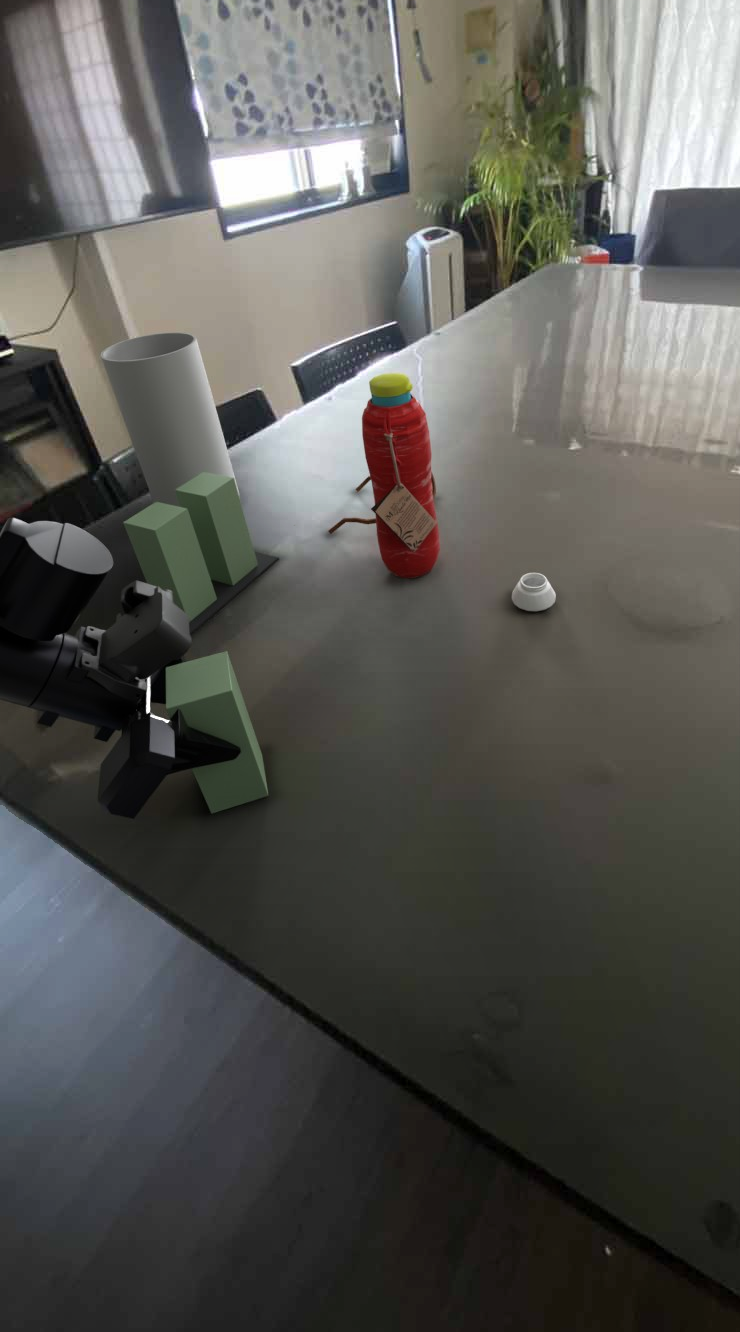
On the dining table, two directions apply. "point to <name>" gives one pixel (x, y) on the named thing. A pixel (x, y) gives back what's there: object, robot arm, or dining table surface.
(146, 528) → the middle block
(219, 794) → the block
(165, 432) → the cylinder vase
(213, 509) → the far block
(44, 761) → the dining table surface
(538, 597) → the white jar
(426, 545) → the water bottle
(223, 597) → the mat
